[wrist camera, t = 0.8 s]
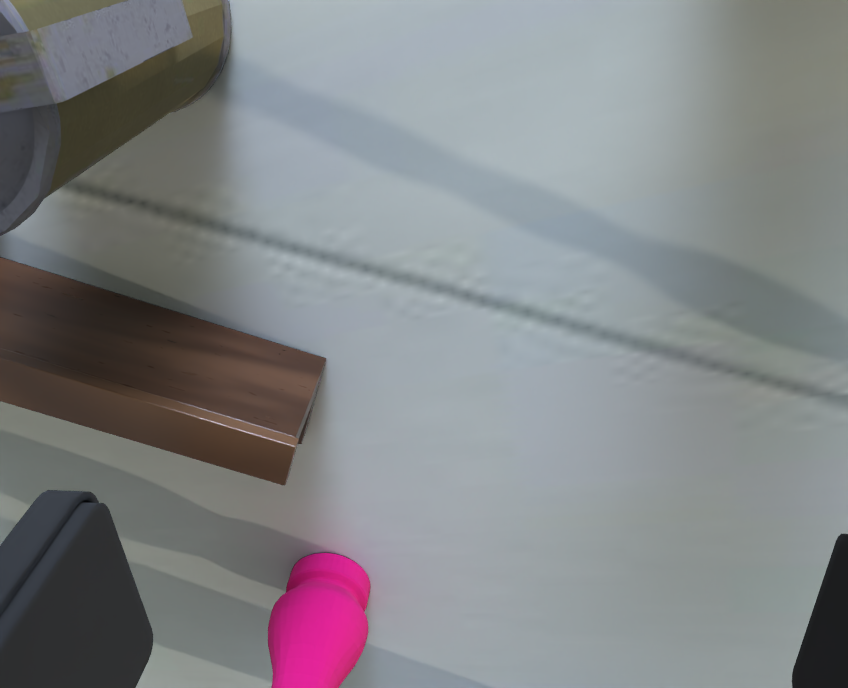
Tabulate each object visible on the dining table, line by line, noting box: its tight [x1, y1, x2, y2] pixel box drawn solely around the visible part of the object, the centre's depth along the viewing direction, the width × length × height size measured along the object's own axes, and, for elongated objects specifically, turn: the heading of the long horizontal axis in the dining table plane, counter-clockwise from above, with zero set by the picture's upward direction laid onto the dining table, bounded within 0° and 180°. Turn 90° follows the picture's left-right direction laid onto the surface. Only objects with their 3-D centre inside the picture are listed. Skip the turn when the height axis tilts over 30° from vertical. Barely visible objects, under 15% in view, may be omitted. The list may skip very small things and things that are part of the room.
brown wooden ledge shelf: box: [0, 257, 326, 485], centre depth 45 cm, size 6×24×9 cm, turn 73°
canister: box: [0, 0, 231, 236], centre depth 29 cm, size 11×10×20 cm
